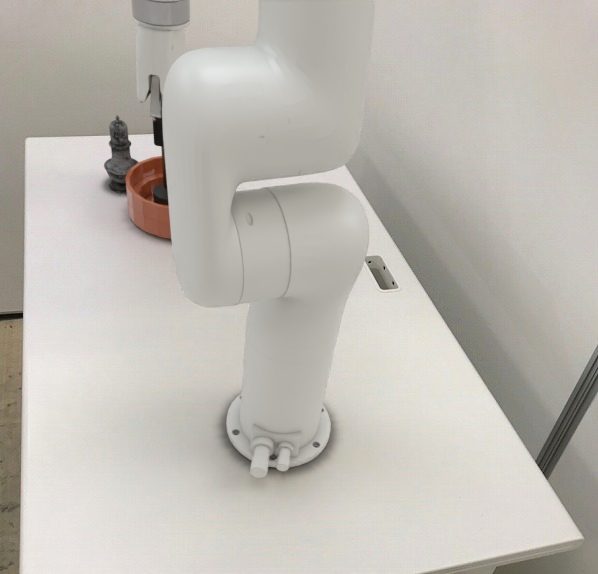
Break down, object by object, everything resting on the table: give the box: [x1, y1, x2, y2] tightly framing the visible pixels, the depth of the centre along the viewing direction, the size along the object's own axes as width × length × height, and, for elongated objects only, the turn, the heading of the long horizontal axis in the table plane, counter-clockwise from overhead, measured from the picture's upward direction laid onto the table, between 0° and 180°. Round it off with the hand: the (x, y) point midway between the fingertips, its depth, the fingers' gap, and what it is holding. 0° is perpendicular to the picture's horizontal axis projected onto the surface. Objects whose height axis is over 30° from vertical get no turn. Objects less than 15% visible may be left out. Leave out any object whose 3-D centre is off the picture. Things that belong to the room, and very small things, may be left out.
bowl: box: [126, 155, 171, 239], centre depth 104 cm, size 16×16×6 cm
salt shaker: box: [103, 114, 140, 194], centre depth 105 cm, size 6×6×12 cm
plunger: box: [153, 106, 169, 206], centre depth 100 cm, size 5×5×16 cm
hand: (166, 141), depth 98 cm, fingers closed on plunger
